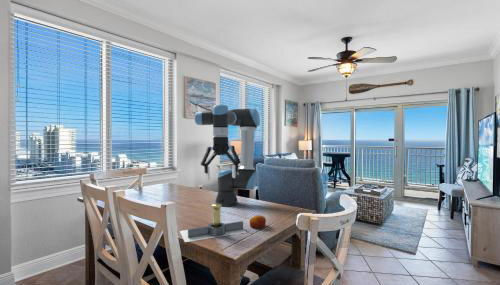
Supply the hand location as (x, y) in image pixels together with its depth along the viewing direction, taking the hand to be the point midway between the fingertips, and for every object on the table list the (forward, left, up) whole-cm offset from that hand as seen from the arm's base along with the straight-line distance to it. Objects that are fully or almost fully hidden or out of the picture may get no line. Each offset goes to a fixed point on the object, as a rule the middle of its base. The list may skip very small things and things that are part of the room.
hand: (221, 178), depth 129 cm
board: (+9, -7, -24) cm, 26 cm away
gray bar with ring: (+11, -6, -23) cm, 26 cm away
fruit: (+11, +15, -24) cm, 31 cm away
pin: (+11, -6, -23) cm, 26 cm away
